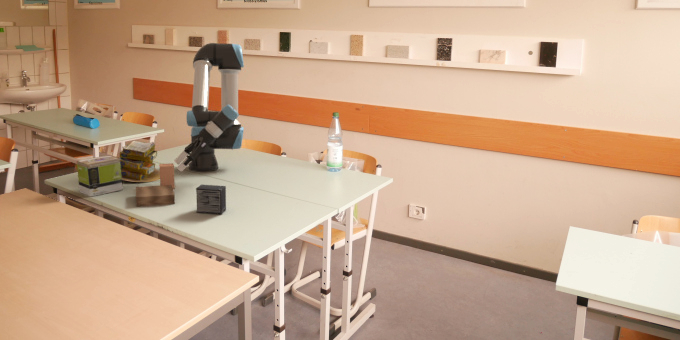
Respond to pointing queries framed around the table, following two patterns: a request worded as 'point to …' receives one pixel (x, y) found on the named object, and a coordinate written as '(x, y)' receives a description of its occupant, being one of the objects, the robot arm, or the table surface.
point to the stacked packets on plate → (139, 162)
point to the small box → (211, 199)
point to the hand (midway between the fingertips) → (177, 166)
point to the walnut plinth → (155, 195)
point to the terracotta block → (167, 174)
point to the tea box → (99, 175)
